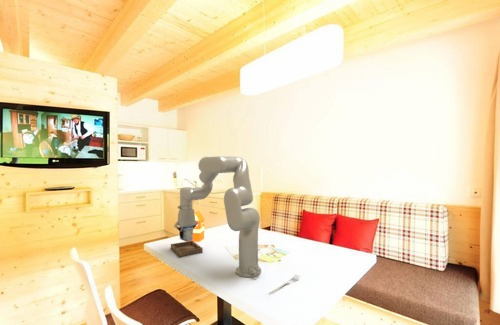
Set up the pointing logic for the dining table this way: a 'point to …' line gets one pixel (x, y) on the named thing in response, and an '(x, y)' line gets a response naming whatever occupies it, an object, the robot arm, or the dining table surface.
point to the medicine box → (187, 233)
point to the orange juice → (198, 228)
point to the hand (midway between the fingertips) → (186, 236)
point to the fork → (284, 284)
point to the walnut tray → (186, 248)
